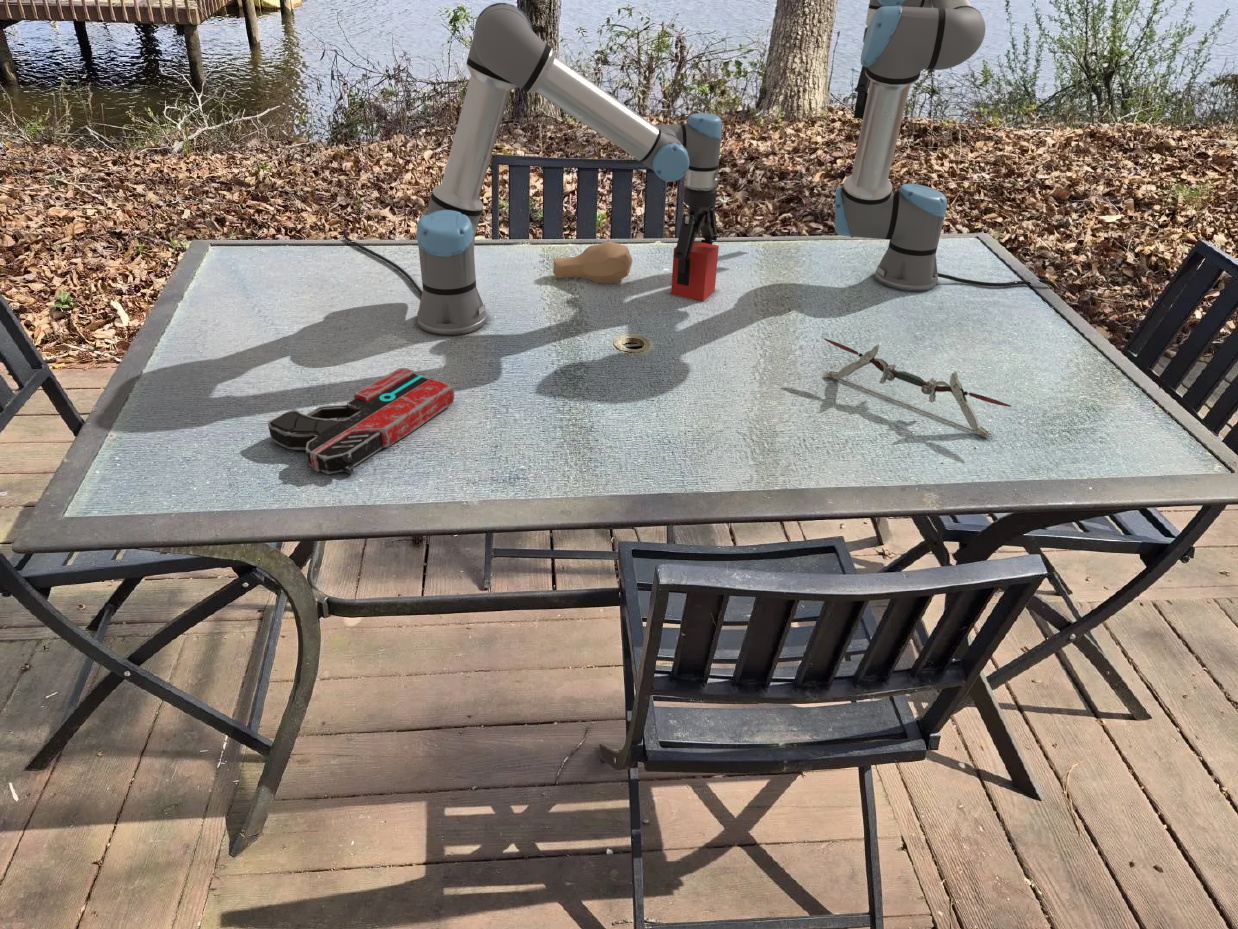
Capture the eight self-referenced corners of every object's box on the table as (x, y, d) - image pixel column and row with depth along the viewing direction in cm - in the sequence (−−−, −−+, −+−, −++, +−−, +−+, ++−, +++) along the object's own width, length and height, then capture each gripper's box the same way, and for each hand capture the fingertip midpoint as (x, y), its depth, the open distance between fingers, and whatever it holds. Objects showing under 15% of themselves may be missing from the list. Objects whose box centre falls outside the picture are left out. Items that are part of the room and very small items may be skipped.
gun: (253, 426, 149) (335, 462, 141) (381, 354, 171) (459, 383, 163) (258, 448, 152) (340, 485, 144) (384, 375, 174) (460, 403, 166)
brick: (703, 301, 210) (707, 254, 204) (670, 294, 213) (673, 248, 207) (714, 291, 216) (718, 245, 209) (683, 284, 219) (686, 239, 212)
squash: (634, 287, 216) (630, 255, 210) (554, 294, 218) (548, 263, 212) (634, 264, 224) (630, 232, 218) (556, 271, 226) (551, 240, 220)
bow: (1002, 440, 160) (1018, 392, 155) (998, 443, 159) (1013, 395, 153) (820, 369, 181) (828, 325, 176) (815, 372, 180) (823, 328, 175)
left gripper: (694, 203, 189) (687, 295, 201) (735, 175, 208) (727, 261, 220) (662, 197, 192) (658, 289, 204) (706, 171, 211) (700, 256, 223)
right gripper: (883, 34, 216) (867, 123, 228) (905, 23, 235) (889, 106, 247) (853, 31, 219) (839, 120, 231) (877, 20, 238) (863, 103, 250)
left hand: (694, 275), depth 212 cm, fingers open, 13 cm apart
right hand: (865, 113), depth 239 cm, fingers open, 13 cm apart
